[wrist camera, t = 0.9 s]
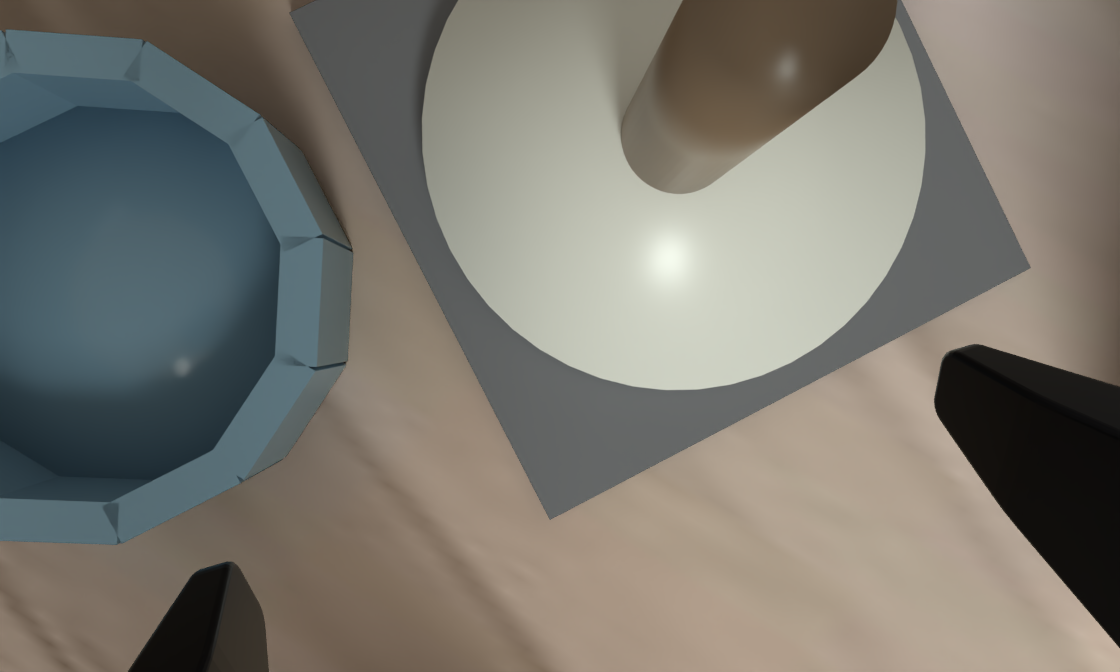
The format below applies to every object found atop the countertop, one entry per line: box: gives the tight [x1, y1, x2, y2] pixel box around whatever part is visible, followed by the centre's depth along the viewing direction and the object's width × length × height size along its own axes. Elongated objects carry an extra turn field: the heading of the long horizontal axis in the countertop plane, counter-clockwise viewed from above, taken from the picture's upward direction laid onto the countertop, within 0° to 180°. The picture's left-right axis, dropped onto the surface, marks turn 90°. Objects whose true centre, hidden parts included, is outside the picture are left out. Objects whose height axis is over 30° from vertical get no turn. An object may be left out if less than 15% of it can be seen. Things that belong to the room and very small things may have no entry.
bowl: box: [0, 29, 353, 545], centre depth 20 cm, size 12×12×4 cm
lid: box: [422, 0, 925, 390], centre depth 17 cm, size 14×14×10 cm
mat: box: [290, 0, 1030, 520], centre depth 22 cm, size 16×16×1 cm
